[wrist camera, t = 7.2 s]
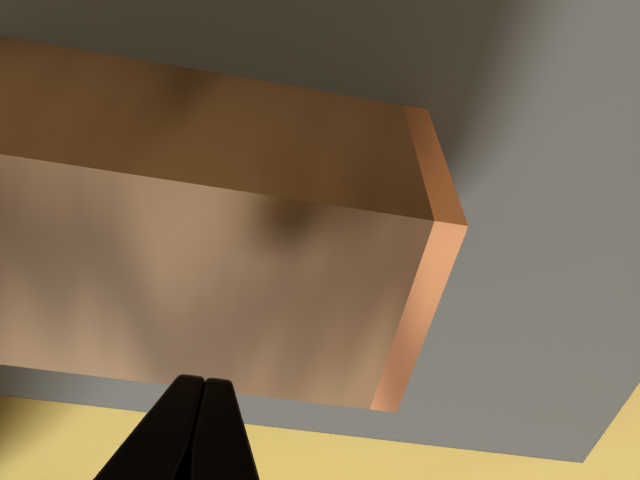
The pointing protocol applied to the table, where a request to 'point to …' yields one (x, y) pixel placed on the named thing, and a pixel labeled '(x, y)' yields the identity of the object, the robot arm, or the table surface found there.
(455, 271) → the slate mat
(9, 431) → the table surface
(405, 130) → the walnut post
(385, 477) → the table surface
